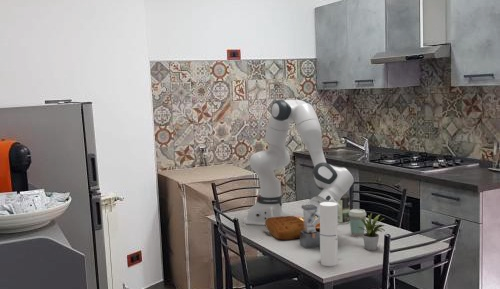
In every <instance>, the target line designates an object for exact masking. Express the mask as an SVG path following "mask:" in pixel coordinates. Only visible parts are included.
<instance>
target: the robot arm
mask: <svg viewBox="0 0 500 289" xmlns="http://www.w3.org/2000/svg"><path fill="white" fill-rule="evenodd" d="M270 113H271V114H270V115H269V119H268V123H267V127H266V131H265V134H264V139H265V141H266V142H267V143H268V146H269V147H268V149H267V150H266V149H265V150H261V151H257V152H255V153H253V154H251V156H250V158H249V166H250V169H251V170H252V171H254V173H255V174H256V175H257V177H258V180H259V187H260V194H257V196H256V201H257V202H256V203H255V204H253V205H252V206H251V207H249V208H248V210H247V212H246V213H247V214H246V216H245V217H244V218H243V220H242V222H243V224H245V225H258V226H266V225H265V221H266V220H267V219H268V218H272V217H281V216H284V212H283V207H282V206H283V196H282V183H281V180H280V179H279V178H278V177H276V175H275V170H279V169H283V168H285V167H286V166H288V165H289V164H290V162H291V156H290V153H289V151H288V150H287V148H286V147H287V146H286V142H287V136H288V133H289V128H290V125H291V122H295V126H296V129H297V132H298V135H299V137H300V138H301V141H302V142H303V144H304V145H305V147H306V149H307V150H308V152H309V155H310V158H311V162H312V164H313V165H312V166H314V167H313V170H312V176H313V179H314V185H315V186H316V188H317V189H318V190H320V192H319V194H317V195H316V196H313V197H311V199H310V200H309V201H308V202H307V203H306V204H305V205H310V204H312V205H314V206H316V207H317V210H315V217H316V218H315V221H312V223H311V224H312V225H313V226H314V227H315V228H316V226H317V225H318V224H320V203H322V202H334V203H337V210H339V209H340V208H341V206H340V205H339V203H338V202H339V201H340V199H341V197H342V196H343V195H344V194H347V192H348V191H349V189H350V188H351V187H352V185H353V184H354V181H355V178H354V176H353V174H352V173H351V171H350V170H349V169H348V168H346V167H339V166H335V165H332V164H329V163H327V160H326V156H325V154H324V150H323V137H322V134H323V133H322V128H321V124H320V120H319V118H318V115H317V113H316V110H315V109H314V107H313V106H312V103H311V102H309V101H308V100H304V99H295V98H293V99H278V100H275V101H273V103H272V105H271V108H270ZM301 220H302V221H304V219H303V217H302V219H301Z"/></svg>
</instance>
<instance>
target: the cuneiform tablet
mask: <svg viewBox="0 0 500 289" xmlns="http://www.w3.org/2000/svg"><path fill="white" fill-rule="evenodd" d="M264 226H266V228H267V231H268V232H269V233H270V234H271V235H272V236H273V237H274V238H275V239H277V240H284V241H285V240H290V241H291V240H293V239H300V231H303V230H304V220H303V219H300V218H299V217H297V216H294V215H283V216H281V217H272V218H268V219H267V220H266V221H265V225H264Z"/></svg>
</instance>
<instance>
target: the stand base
mask: <svg viewBox="0 0 500 289" xmlns="http://www.w3.org/2000/svg"><path fill="white" fill-rule="evenodd" d="M299 244H300V246H302V247H303V248H304V249H307V250H308V249H314V248H320V232H318V231H317V230H316V233H311V234H305V233H304V230H303V231H300V237H299Z"/></svg>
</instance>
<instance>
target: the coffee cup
mask: <svg viewBox="0 0 500 289" xmlns="http://www.w3.org/2000/svg"><path fill="white" fill-rule="evenodd" d="M364 216H365V217H364ZM366 216H367V212H366V210H365V209H361V208H353V209H350V211H349V218H350V222H349V227H350V234H351V236H353V237H360V238H361V237H363V234H364V233H365V230H363V229H362V228H364V229H366V227H365V225H364V223H363V222H362V221H361V220H362V219H364V220H365V221H366V220H367V217H366ZM357 217H358V218H357ZM360 217H361V218H362V219H361V218H360ZM359 218H360V219H361V220H360V219H359ZM358 227H362V228H358Z"/></svg>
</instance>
